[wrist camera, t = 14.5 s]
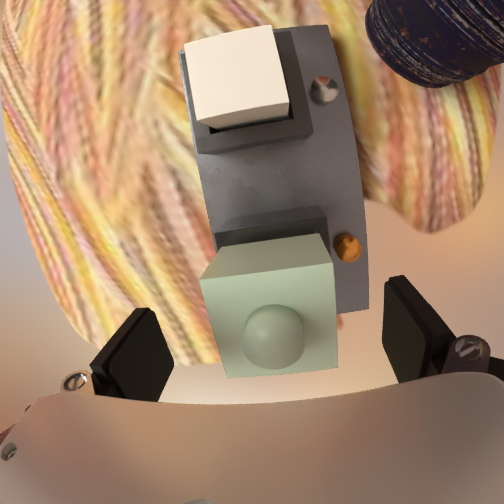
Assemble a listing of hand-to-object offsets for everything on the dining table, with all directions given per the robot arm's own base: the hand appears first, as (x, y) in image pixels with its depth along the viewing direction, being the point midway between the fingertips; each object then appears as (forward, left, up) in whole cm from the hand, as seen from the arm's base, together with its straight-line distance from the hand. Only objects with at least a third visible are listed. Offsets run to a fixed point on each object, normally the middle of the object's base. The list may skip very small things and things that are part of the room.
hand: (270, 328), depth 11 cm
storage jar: (-16, +15, -12) cm, 25 cm away
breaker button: (-10, 0, -8) cm, 13 cm away
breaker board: (-5, +1, -12) cm, 13 cm away
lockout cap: (+1, 0, -5) cm, 5 cm away
